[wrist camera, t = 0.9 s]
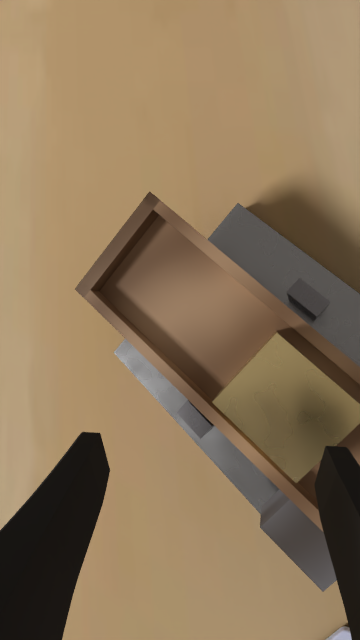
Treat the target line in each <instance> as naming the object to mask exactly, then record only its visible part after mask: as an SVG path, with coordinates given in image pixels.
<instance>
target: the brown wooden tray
mask: <svg viewBox="0 0 360 640" xmlns="http://www.w3.org/2000/svg"><path fill="white" fill-rule="evenodd" d="M75 290H76V291H77V292H78V293H79V294H80V295H81V296H82V297H83V298H84V299H85V300H87V301H88V302H89V303H90V304H91V305H92V306H93V307H94V308H95V309H96V310H97V311H98V312H99V313H100V314H101V315H102V316H103V317H104V318H105V319H106V320H107V321H108V322H109V323H110V324H111V325H112V326H113V327H114V328H115V329H116V330H117V331H118V332H119V333H120V334H121V335H122V336H123V337H124V338H125V339H126V340H127V341H128V342H129V343H130V344H131V345H133V346H134V347H135V348H136V349H137V350H138V351H139V352H140V353H141V354H142V355H143V356H144V357H145V358H146V359H147V360H148V361H149V362H150V363H151V364H152V365H153V366H154V367H155V368H156V369H157V370H158V371H159V372H160V373H161V374H162V375H163V376H164V377H165V378H166V379H167V380H168V381H169V382H170V383H171V384H172V385H173V386H174V387H175V388H176V389H178V390H179V391H180V392H181V393H182V394H183V395H184V396H185V397H186V398H187V399H188V400H189V401H190V402H191V403H192V404H193V405H194V406H195V407H196V408H197V409H198V410H199V411H200V412H201V413H202V414H203V415H204V416H205V417H206V418H207V419H208V420H209V421H210V422H211V423H212V424H213V425H214V426H215V427H216V428H217V429H218V430H219V431H220V432H221V433H222V434H224V435H225V436H226V437H227V438H228V439H229V440H230V441H231V442H232V443H233V444H234V445H235V446H236V447H237V448H238V449H239V450H240V451H241V452H242V453H243V454H244V455H245V456H246V457H247V458H248V459H249V460H250V461H251V462H252V463H253V464H254V465H255V466H256V467H257V468H258V469H259V470H260V471H261V472H262V473H263V474H264V475H265V476H266V477H267V478H269V479H270V480H271V481H272V482H273V483H274V484H275V485H276V486H277V487H278V488H279V490H278V491H277V492H276V493H275V494H274V495H273V496H272V497H271V498H270V499H268V500H267V501H266V502H265V503H264V504H263V505H262V506H261V520H260V528H261V529H262V530H263V531H264V532H265V533H266V534H267V535H268V536H269V537H270V538H271V539H272V540H273V541H274V542H275V543H276V544H277V545H278V546H279V547H280V548H281V549H282V550H283V551H284V552H285V553H286V554H287V555H288V556H289V558H290V559H291V560H292V561H293V562H294V563H295V564H296V565H297V566H298V567H299V568H300V569H301V570H302V571H303V572H304V573H305V574H306V575H307V576H308V577H309V578H310V579H311V580H312V581H313V582H314V583H315V584H316V585H317V586H318V587H319V588H320V589H321V590H322V591H324V590H326V589H327V588H328V587H329V586H330V585H331V584H333V583H334V582H335V581H336V580H337V579H336V575H335V571H334V568H333V564H332V561H331V557H330V554H329V550H328V546H327V543H326V539H325V535H324V532H323V528H322V524H321V521H320V515H319V510H318V504H317V498H316V492H315V485H314V484H315V480H316V477H317V473H318V470H319V467H320V463H321V460H322V459H321V460H320V461H319V462H318V463H317V464H316V465H315V466H314V467H313V468H312V469H311V470H310V471H309V472H308V473H307V474H306V475H305V476H303V477H302V478H301V479H300V480H299V481H298V482H297V483H295V482H294V481H293V480H292V479H291V478H290V477H289V476H288V475H287V474H286V473H285V472H284V471H283V470H282V469H281V468H280V467H279V466H278V465H277V464H276V463H275V462H273V461H272V460H271V459H270V458H269V457H268V456H267V455H266V454H265V453H264V452H263V451H262V450H261V449H260V448H259V447H258V446H257V445H256V444H255V443H254V442H253V441H252V440H251V439H250V438H249V437H247V436H246V435H245V434H244V433H243V432H242V431H241V430H240V429H239V428H238V427H237V426H236V425H235V424H234V423H233V422H232V421H231V420H230V419H229V418H228V417H227V416H226V415H225V414H224V413H223V412H221V411H220V410H219V409H218V408H217V407H216V406H215V405H214V404H213V403H212V402H213V400H214V399H215V397H216V396H217V394H218V393H219V392H220V390H221V389H222V388H223V387H224V386H225V385H226V384H227V383H228V382H229V381H230V380H231V379H232V378H233V377H234V375H235V374H236V373H237V372H238V371H239V370H240V369H241V368H242V367H243V366H244V365H245V364H246V363H247V361H248V360H249V359H250V358H251V357H252V356H253V355H254V354H255V353H256V352H257V351H258V350H259V349H260V348H261V346H262V345H263V344H264V343H265V342H266V341H267V340H268V339H269V338H270V337H271V336H272V335H273V334H274V332H275V331H277V332H278V333H279V334H280V335H281V336H282V337H284V338H285V339H286V340H287V341H288V342H289V343H291V344H292V345H293V346H294V347H295V348H296V349H298V350H299V351H300V352H301V353H302V354H303V355H304V356H306V357H307V358H308V359H309V360H310V361H311V362H313V363H314V364H315V365H316V366H317V367H318V368H320V369H321V370H322V371H323V372H324V373H325V374H327V375H328V376H329V377H330V378H331V379H332V380H333V381H335V382H336V383H337V384H338V385H339V386H340V387H342V388H343V389H344V390H345V391H346V392H347V393H349V394H350V395H351V396H352V397H353V398H354V399H356V400H357V401H358V402H359V403H360V367H359V366H358V365H357V364H355V363H354V362H353V361H352V360H351V359H349V358H348V357H347V356H346V355H345V354H343V353H342V352H341V351H340V350H339V349H337V348H336V347H335V346H334V345H333V344H331V343H330V342H329V341H328V340H327V339H325V338H324V337H323V336H322V335H321V334H319V333H318V332H317V331H316V330H315V329H314V328H312V327H311V326H310V325H309V324H308V323H306V322H305V321H304V320H303V319H302V318H300V317H299V316H298V315H297V314H296V313H294V312H293V311H292V310H291V309H290V308H288V307H287V306H286V305H285V304H284V303H282V302H281V301H280V300H279V299H278V298H276V297H275V296H274V295H273V294H272V293H270V292H269V291H268V290H267V289H266V288H265V287H263V286H262V285H261V284H260V283H259V282H257V281H256V280H255V279H254V278H253V277H251V276H250V275H249V274H248V273H247V272H245V271H244V270H243V269H242V268H241V267H239V266H238V265H237V264H236V263H235V262H233V261H232V260H231V259H230V258H229V257H227V256H226V255H225V254H224V253H223V252H221V251H220V250H219V249H218V248H217V247H215V246H214V245H213V244H212V243H211V242H210V241H208V240H207V239H206V238H205V237H204V236H202V235H201V234H200V233H199V232H198V231H196V230H195V229H194V228H193V227H192V226H190V225H189V224H188V223H187V222H186V221H184V220H183V219H182V218H181V217H180V216H178V215H177V214H176V213H175V212H174V211H172V210H171V209H170V208H169V207H168V206H166V205H165V204H164V203H163V202H162V201H161V200H159V199H158V198H157V197H156V196H155V195H153V194H152V193H151V192H149V193H148V194H147V196H146V197H145V198H144V199H143V201H142V202H141V203H140V205H139V206H138V207H137V209H136V210H135V211H134V212H133V214H132V215H131V216H130V218H129V219H128V220H127V222H126V223H125V224H124V225H123V227H122V228H121V229H120V231H119V232H118V233H117V235H116V236H115V237H114V238H113V240H112V241H111V242H110V244H109V245H108V246H107V248H106V249H105V250H104V252H103V253H102V254H101V255H100V257H99V258H98V259H97V261H96V262H95V263H94V265H93V266H92V267H91V268H90V270H89V271H88V272H87V274H86V275H85V276H84V278H83V279H82V280H81V281H80V283H79V284H78V285H77V287H76V288H75ZM336 446H338V447H347V448H348V449H349V450H350V452H351V453H352V455H353V456H354V458H355V459H356V461H357V462H358V464H359V465H360V424H358V425H357V426H356V427H355V428H354V429H353V430H352V431H351V432H350V433H349V434H348V435H347V436H346V437H345V438H344V439H343V440H342V441H340V442H339V443H338V444H337V445H336Z"/></svg>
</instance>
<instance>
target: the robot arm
mask: <svg viewBox="0 0 360 640" xmlns="http://www.w3.org/2000/svg"><path fill="white" fill-rule="evenodd" d="M109 472H110V468H109V465H108V461H107V457H106V453H105V450H104V446H103V442H102V438H101V435H100V433H90V432H82V433H81V434H80V435H79V436H78V438H77V439H76V440H75V442H74V443H73V444H72V446H71V447H70V448H69V449H68V451H67V452H66V453H65V455H64V456H63V457H62V459H61V460H60V461H59V462H58V464H57V465H56V466H55V468H54V469H53V470H52V471H51V473H50V474H49V475H48V476H47V477H46V479H45V480H44V481H43V482H42V484H41V485H40V486H39V487H38V488H37V490H36V491H35V492H34V493H33V494H32V496H31V497H30V498H29V499H28V500H27V501H26V502H25V504H24V505H23V506H22V507H21V508H20V509H19V510H18V511H17V513H16V514H15V515H14V516H13V517H12V518H11V519H10V520H9V522H8V523H7V524H6V525H5V526H4V527H3V528H2V529H1V530H0V640H62V637H63V632H64V628H65V624H66V620H67V616H68V612H69V608H70V604H71V600H72V596H73V593H74V589H75V586H76V582H77V579H78V576H79V573H80V570H81V567H82V564H83V561H84V558H85V555H86V552H87V549H88V546H89V543H90V540H91V537H92V534H93V531H94V528H95V525H96V522H97V519H98V516H99V513H100V510H101V507H102V504H103V500H104V495H105V491H106V487H107V482H108V477H109ZM314 485H315V492H316V498H317V504H318V510H319V515H320V521H321V524H322V528H323V532H324V535H325V539H326V543H327V546H328V550H329V554H330V557H331V561H332V564H333V568H334V571H335V575H336V579H337V582H338V586H339V589H340V593H341V597H342V600H343V604H344V607H345V612H346V616H347V620H348V624H349V627H346V626H343V627H341V628H339V629H338V630H337V631H336V632H334V633H333V634H332V635H331V636H330V637H328V638H327V639H326V640H360V465H359V464H358V462H357V461H356V459H355V458H354V456H353V455H352V453H351V452H350V450H349V449H348V448H347V447H338V446H325V449H324V453H323V456H322V460H321V463H320V467H319V470H318V473H317V477H316V480H315V484H314Z"/></svg>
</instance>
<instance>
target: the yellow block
mask: <svg viewBox="0 0 360 640" xmlns="http://www.w3.org/2000/svg"><path fill="white" fill-rule="evenodd" d="M212 403H213V404H214V405H215V406H216V407H217V408H218V409H219V410H220V411H221V412H223V413H224V414H225V415H226V416H227V417H228V418H229V419H230V420H231V421H232V422H233V423H234V424H235V425H236V426H237V427H238V428H239V429H240V430H241V431H242V432H243V433H244V434H245V435H246V436H247V437H249V438H250V439H251V440H252V441H253V442H254V443H255V444H256V445H257V446H258V447H259V448H260V449H261V450H262V451H263V452H264V453H265V454H266V455H267V456H268V457H269V458H270V459H271V460H272V461H273V462H275V463H276V464H277V465H278V466H279V467H280V468H281V469H282V470H283V471H284V472H285V473H286V474H287V475H288V476H289V477H290V478H291V479H292V480H293V481H294V482H295V483H297V482H298V481H299V480H300V479H301V478H302V477H303V476H305V475H306V474H307V473H308V472H309V471H310V470H311V469H312V468H313V467H314V466H315V465H316V464H317V463H318V462H319V461H320V460H321V459H322V456H323V453H324V449H325V446H336V445H337V444H338V443H339V442H340V441H342V440H343V439H344V438H345V437H346V436H347V435H348V434H349V433H350V432H351V431H352V430H353V429H354V428H355V427H356V426H357V425H358V424H360V403H359V402H358V401H357V400H356V399H354V398H353V397H352V396H351V395H350V394H349V393H347V392H346V391H345V390H344V389H343V388H342V387H340V386H339V385H338V384H337V383H336V382H335V381H333V380H332V379H331V378H330V377H329V376H328V375H327V374H325V373H324V372H323V371H322V370H321V369H320V368H318V367H317V366H316V365H315V364H314V363H313V362H311V361H310V360H309V359H308V358H307V357H306V356H304V355H303V354H302V353H301V352H300V351H299V350H298V349H296V348H295V347H294V346H293V345H292V344H291V343H289V342H288V341H287V340H286V339H285V338H284V337H282V336H281V335H280V334H279V333H278V332H277V331H275V332H274V334H273V335H272V336H271V337H270V338H269V339H268V340H267V341H266V342H265V343H264V344H263V345H262V346H261V348H260V349H259V350H258V351H257V352H256V353H255V354H254V355H253V356H252V357H251V358H250V359H249V360H248V361H247V363H246V364H245V365H244V366H243V367H242V368H241V369H240V370H239V371H238V372H237V373H236V374H235V375H234V377H233V378H232V379H231V380H230V381H229V382H228V383H227V384H226V385H225V386H224V387H223V388H222V389H221V390H220V392H219V393H218V394H217V396H216V397H215V399H214V400H213V402H212Z"/></svg>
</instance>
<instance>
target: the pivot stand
mask: <svg viewBox="0 0 360 640" xmlns="http://www.w3.org/2000/svg"><path fill="white" fill-rule="evenodd" d="M208 241H210V242H211V243H212V244H213V245H214V246H215V247H217V248H218V249H219V250H220V251H221V252H223V253H224V254H225V255H226V256H227V257H229V258H230V259H231V260H232V261H233V262H235V263H236V264H237V265H238V266H239V267H241V268H242V269H243V270H244V271H245V272H247V273H248V274H249V275H250V276H251V277H253V278H254V279H255V280H256V281H257V282H259V283H260V284H261V285H262V286H263V287H265V288H266V289H267V290H268V291H269V292H270V293H272V294H273V295H274V296H275V297H276V298H278V299H279V300H280V301H281V302H282V303H284V304H285V305H286V306H287V307H288V308H290V309H291V310H292V311H293V312H294V313H296V314H297V315H298V316H299V317H300V318H302V319H303V320H304V321H305V322H306V323H308V324H309V325H310V326H311V327H312V328H314V329H315V330H316V331H317V332H318V333H319V334H321V335H322V336H323V337H324V338H325V339H327V340H328V341H329V342H330V343H331V344H333V345H334V346H335V347H336V348H337V349H339V350H340V351H341V352H342V353H343V354H345V355H346V356H347V357H348V358H349V359H351V360H352V361H353V362H354V363H355V364H357V365H358V366H359V367H360V294H359V293H358V292H356V291H355V290H354V289H352V288H351V287H350V286H348V285H347V284H346V283H344V282H343V281H342V280H340V279H339V278H338V277H336V276H335V275H334V274H332V273H331V272H330V271H328V270H327V269H326V268H324V267H323V266H322V265H320V264H319V263H318V262H316V261H315V260H314V259H312V258H311V257H310V256H308V255H307V254H306V253H304V252H303V251H302V250H300V249H299V248H298V247H296V246H295V245H294V244H292V243H291V242H290V241H288V240H287V239H286V238H284V237H283V236H282V235H280V234H279V233H278V232H276V231H275V230H274V229H272V228H271V227H270V226H268V225H267V224H266V223H264V222H263V221H262V220H260V219H259V218H257V217H256V216H255V215H253V214H252V213H251V212H249V211H248V210H247V209H245V208H244V207H243V206H241V205H240V204H239V203H237V205H236V206H235V207H234V208H233V209H232V211H231V212H230V213H229V214H228V215H227V217H226V218H225V219H224V220H223V221H222V223H221V224H220V225H219V226H218V227H217V229H216V230H215V231H214V232H213V234H212V235H211V236H210V237H209V238H208ZM114 353H115V354H116V356H117V357H118V358H119V359H120V360H121V361H122V362H123V363H124V364H125V365H126V367H127V368H128V369H129V370H130V371H131V372H132V373H133V374H134V375H135V376H136V378H137V379H138V380H139V381H140V382H141V383H142V384H143V385H144V386H145V387H146V389H147V390H148V391H149V392H150V393H151V394H152V395H153V396H154V397H155V398H156V400H157V401H158V402H159V403H160V404H161V405H162V406H163V407H164V408H165V409H166V411H167V412H168V413H169V414H170V415H171V416H172V417H173V418H174V419H175V420H176V422H177V423H178V424H179V425H180V426H181V427H182V428H183V429H184V430H185V431H186V433H187V434H188V435H189V436H190V437H191V438H192V439H193V440H194V441H195V442H196V444H197V445H198V446H199V447H200V448H201V449H202V450H203V451H204V452H205V453H206V455H207V456H208V457H209V458H210V459H211V460H212V461H213V462H214V463H215V464H216V466H217V467H218V468H219V469H220V470H221V471H222V472H223V473H224V474H225V475H226V477H227V478H228V479H229V480H230V481H231V482H232V483H233V484H234V485H235V486H236V488H237V489H238V490H239V491H240V492H241V493H242V494H243V495H244V496H245V497H246V499H247V500H248V501H249V502H250V503H251V504H252V505H253V506H254V507H255V508H256V510H257V511H258V512H259V513H260V514H261V506H262V505H263V504H264V503H265V502H266V501H267V500H268V499H270V498H271V497H272V496H273V495H274V494H275V493H276V492H277V491H278V490H279V488H278V487H277V486H276V485H275V484H274V483H273V482H272V481H271V480H270V479H269V478H267V477H266V476H265V475H264V474H263V473H262V472H261V471H260V470H259V469H258V468H257V467H256V466H255V465H254V464H253V463H252V462H251V461H250V460H249V459H248V458H247V457H246V456H245V455H244V454H243V453H242V452H241V451H240V450H239V449H238V448H237V447H236V446H235V445H234V444H233V443H232V442H231V441H230V440H229V439H228V438H227V437H226V436H225V435H224V434H222V433H221V432H220V431H219V430H218V429H217V428H216V427H215V426H214V425H213V424H212V423H211V422H210V421H209V420H208V419H207V418H206V417H205V416H204V415H203V414H202V413H201V412H200V411H199V410H198V409H197V408H196V407H195V406H194V405H193V404H192V403H191V402H190V401H189V400H188V399H187V398H186V397H185V396H184V395H183V394H182V393H181V392H180V391H179V390H178V389H176V388H175V387H174V386H173V385H172V384H171V383H170V382H169V381H168V380H167V379H166V378H165V377H164V376H163V375H162V374H161V373H160V372H159V371H158V370H157V369H156V368H155V367H154V366H153V365H152V364H151V363H150V362H149V361H148V360H147V359H146V358H145V357H144V356H143V355H142V354H141V353H140V352H139V351H138V350H137V349H136V348H135V347H134V346H133V345H131V344H130V343H129V342H128V341H127V340H126V339H125V340H124V341H123V342H122V343H121V344H120V346H119V347H118V348H117V349H116V350H115V352H114Z"/></svg>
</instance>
